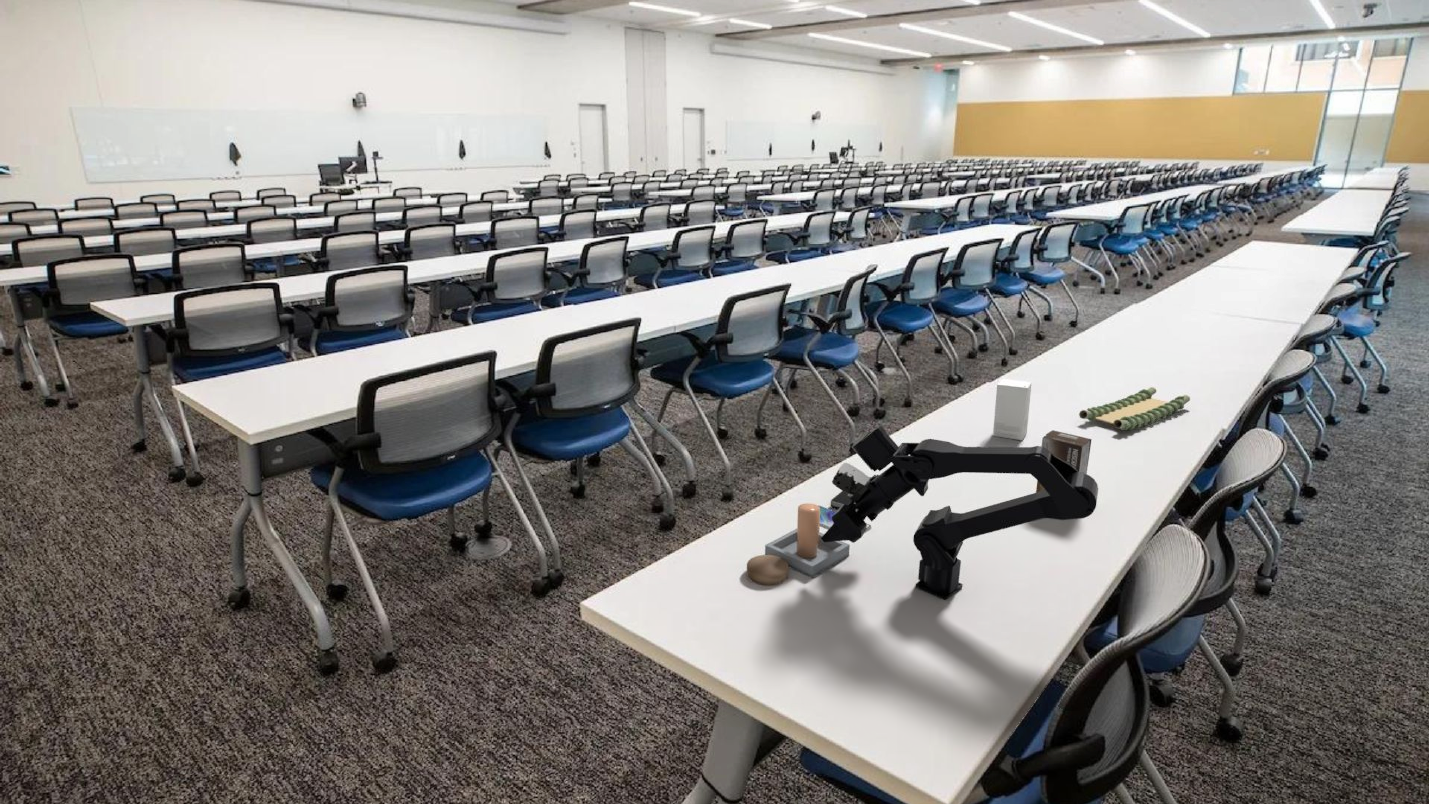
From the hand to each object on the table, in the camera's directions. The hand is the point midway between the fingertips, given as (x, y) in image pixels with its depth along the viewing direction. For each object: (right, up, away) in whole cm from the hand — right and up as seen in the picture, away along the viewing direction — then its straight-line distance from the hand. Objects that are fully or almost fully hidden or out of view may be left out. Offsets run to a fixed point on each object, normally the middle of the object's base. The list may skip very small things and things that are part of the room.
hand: (830, 530), depth 155 cm
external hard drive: (+9, +1, +28) cm, 29 cm away
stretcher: (+104, +20, +83) cm, 135 cm away
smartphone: (+4, -2, +19) cm, 19 cm away
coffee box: (+57, +2, +27) cm, 63 cm away
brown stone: (-13, -8, -3) cm, 15 cm away
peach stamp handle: (-4, -5, +4) cm, 8 cm away
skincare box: (+61, +16, +69) cm, 93 cm away
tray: (-4, -6, +4) cm, 8 cm away
